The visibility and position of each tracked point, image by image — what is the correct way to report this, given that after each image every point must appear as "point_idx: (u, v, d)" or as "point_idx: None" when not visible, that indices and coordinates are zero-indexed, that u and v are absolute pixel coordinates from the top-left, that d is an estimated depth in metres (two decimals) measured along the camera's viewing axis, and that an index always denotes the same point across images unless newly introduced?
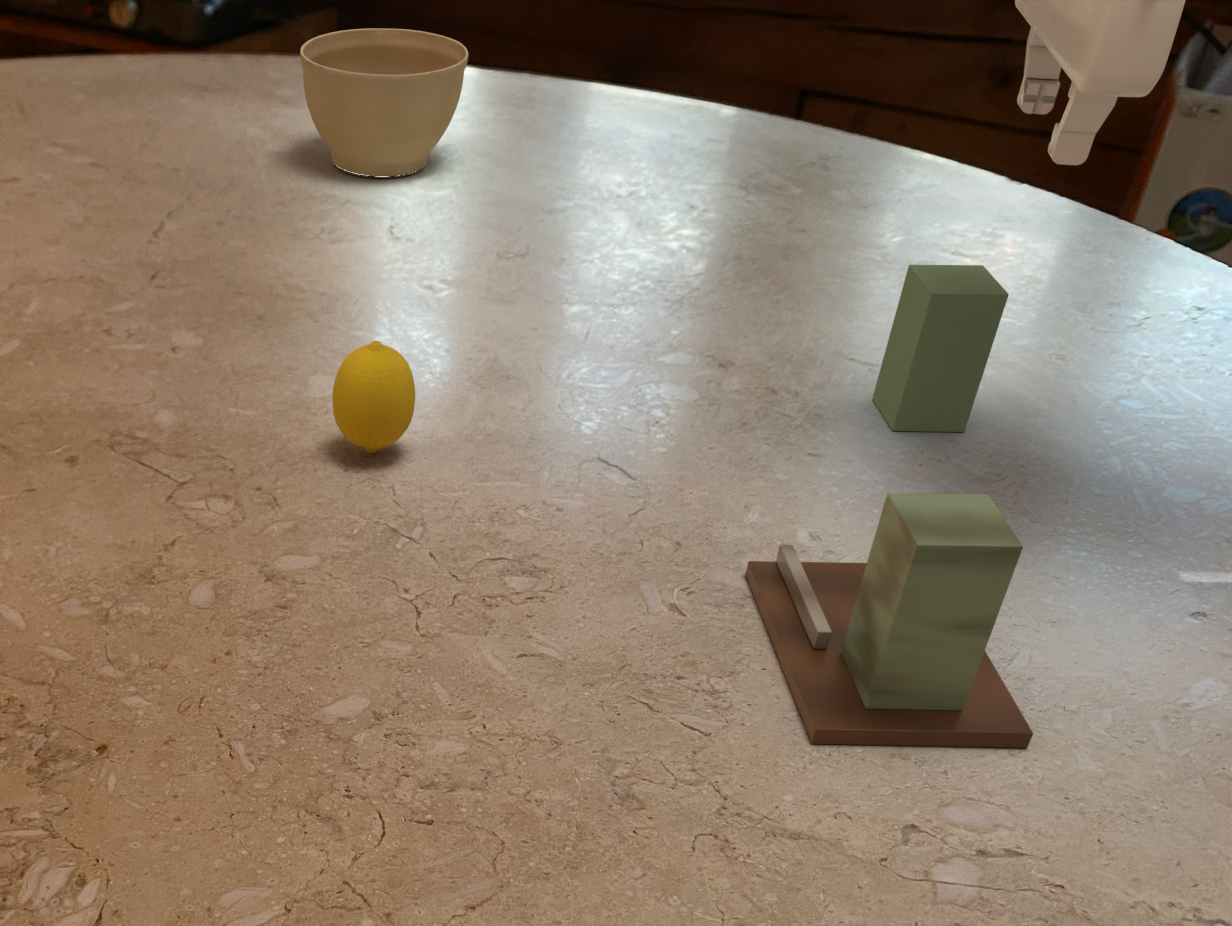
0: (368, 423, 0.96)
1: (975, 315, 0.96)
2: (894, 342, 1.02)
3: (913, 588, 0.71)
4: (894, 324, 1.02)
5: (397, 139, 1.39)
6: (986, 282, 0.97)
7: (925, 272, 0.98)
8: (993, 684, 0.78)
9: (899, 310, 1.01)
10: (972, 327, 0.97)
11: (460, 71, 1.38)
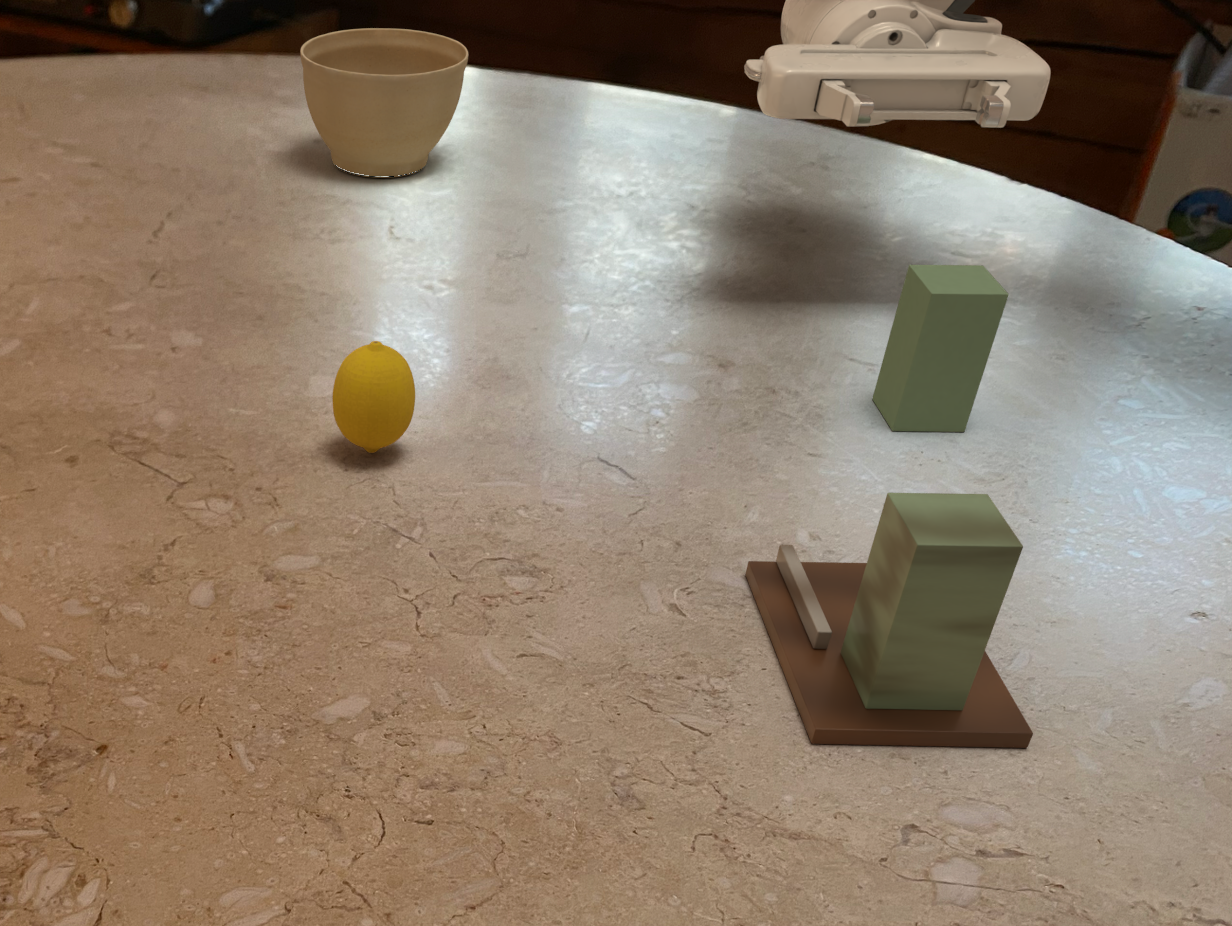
0: (368, 423, 0.96)
1: (975, 315, 0.96)
2: (894, 342, 1.02)
3: (913, 588, 0.71)
4: (894, 324, 1.02)
5: (397, 139, 1.39)
6: (986, 282, 0.97)
7: (925, 272, 0.98)
8: (993, 684, 0.78)
9: (899, 310, 1.01)
10: (972, 327, 0.97)
11: (460, 71, 1.38)
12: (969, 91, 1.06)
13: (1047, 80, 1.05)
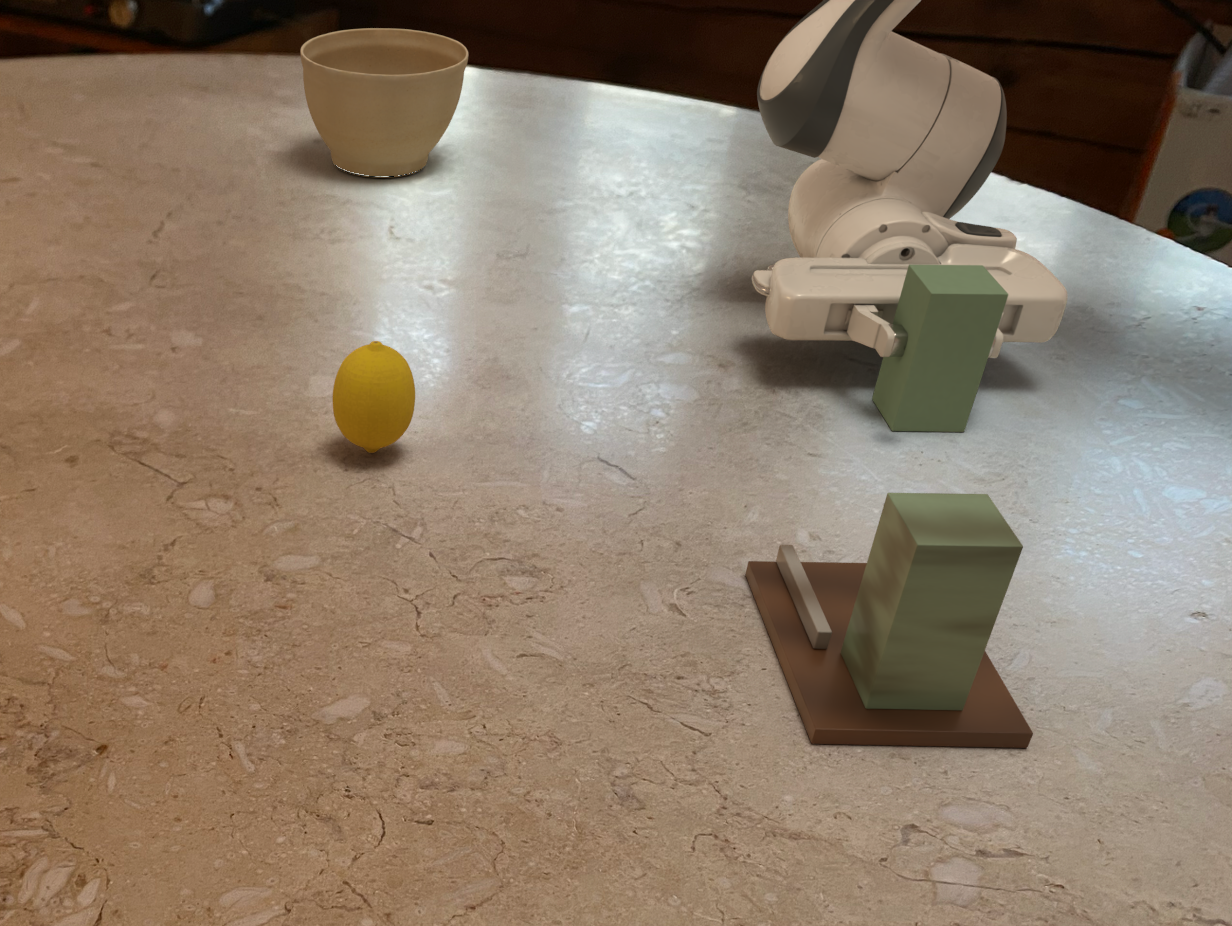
0: (368, 423, 0.96)
1: (974, 315, 0.96)
2: None
3: (913, 588, 0.71)
4: None
5: (397, 139, 1.39)
6: (986, 282, 0.97)
7: (925, 272, 0.98)
8: (993, 684, 0.78)
9: (899, 310, 1.01)
10: (971, 327, 0.97)
11: (460, 71, 1.38)
12: None
13: (1064, 304, 1.03)
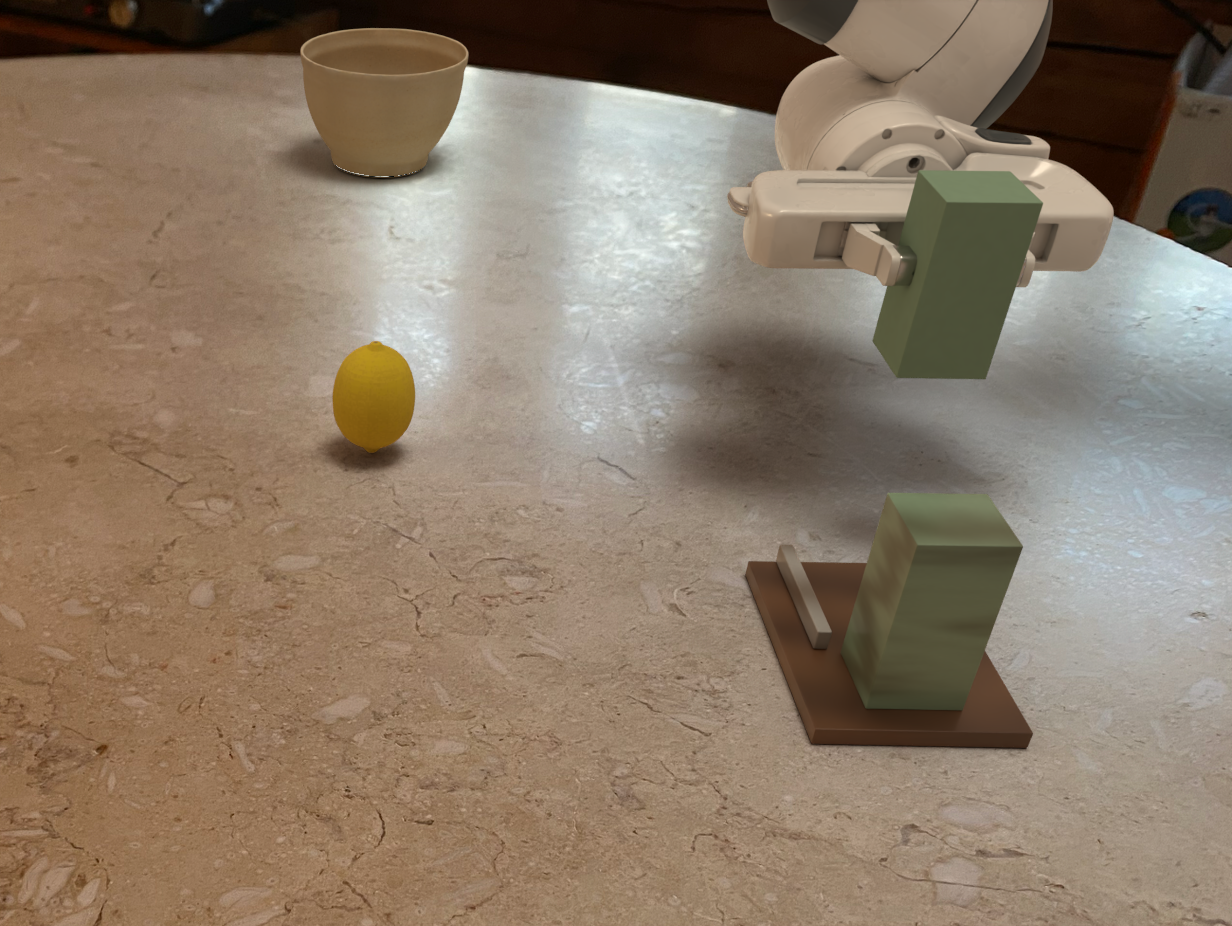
0: (368, 423, 0.96)
1: (1000, 230, 0.77)
2: None
3: (913, 588, 0.71)
4: None
5: (397, 139, 1.39)
6: (1015, 189, 0.78)
7: (939, 178, 0.79)
8: (993, 684, 0.78)
9: (906, 229, 0.82)
10: (997, 246, 0.78)
11: (460, 71, 1.38)
12: None
13: (1109, 223, 0.83)
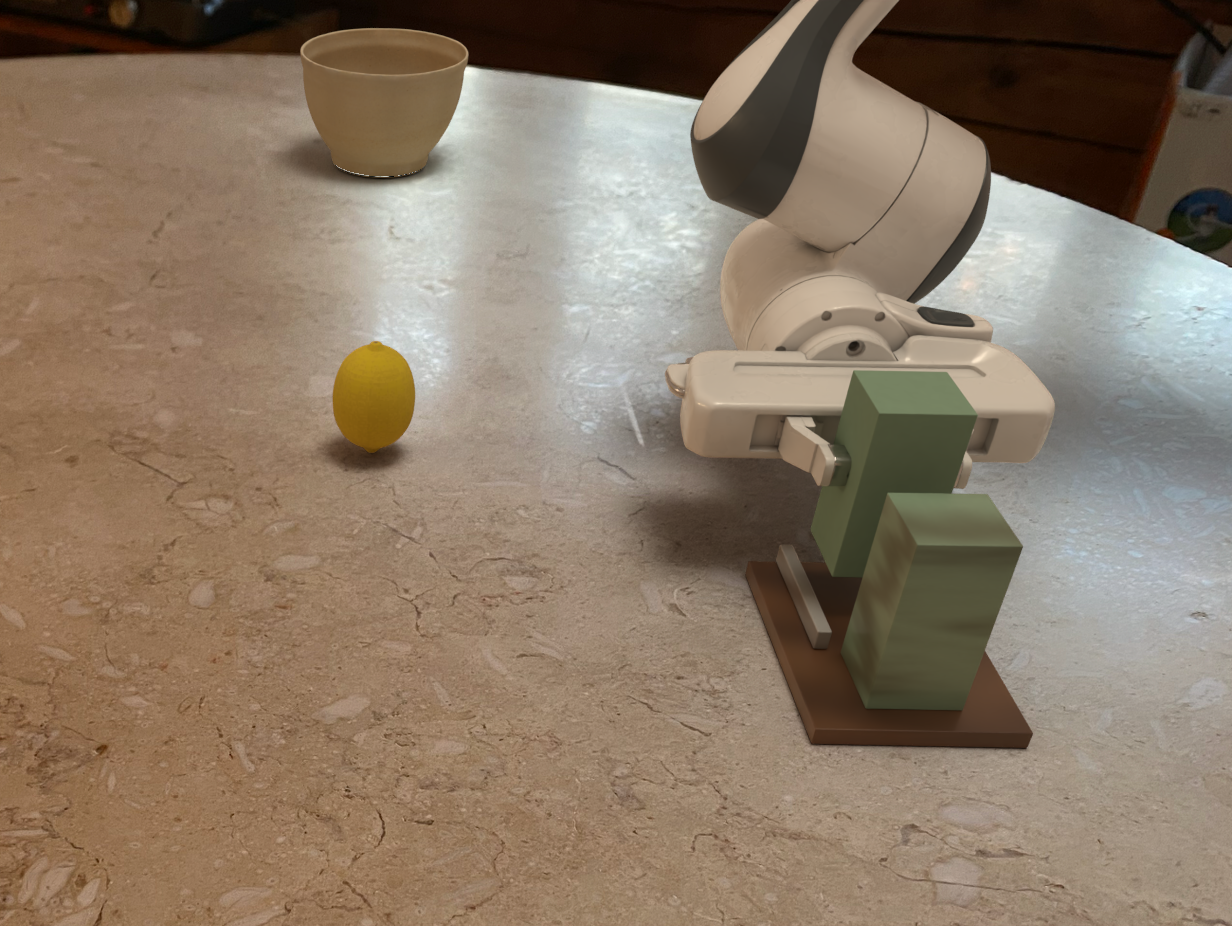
0: (368, 423, 0.96)
1: (935, 439, 0.75)
2: None
3: (913, 588, 0.71)
4: (836, 442, 0.81)
5: (397, 139, 1.39)
6: (950, 396, 0.76)
7: (873, 381, 0.77)
8: (993, 684, 0.78)
9: (842, 426, 0.80)
10: (931, 455, 0.76)
11: (460, 71, 1.38)
12: None
13: (1050, 418, 0.81)
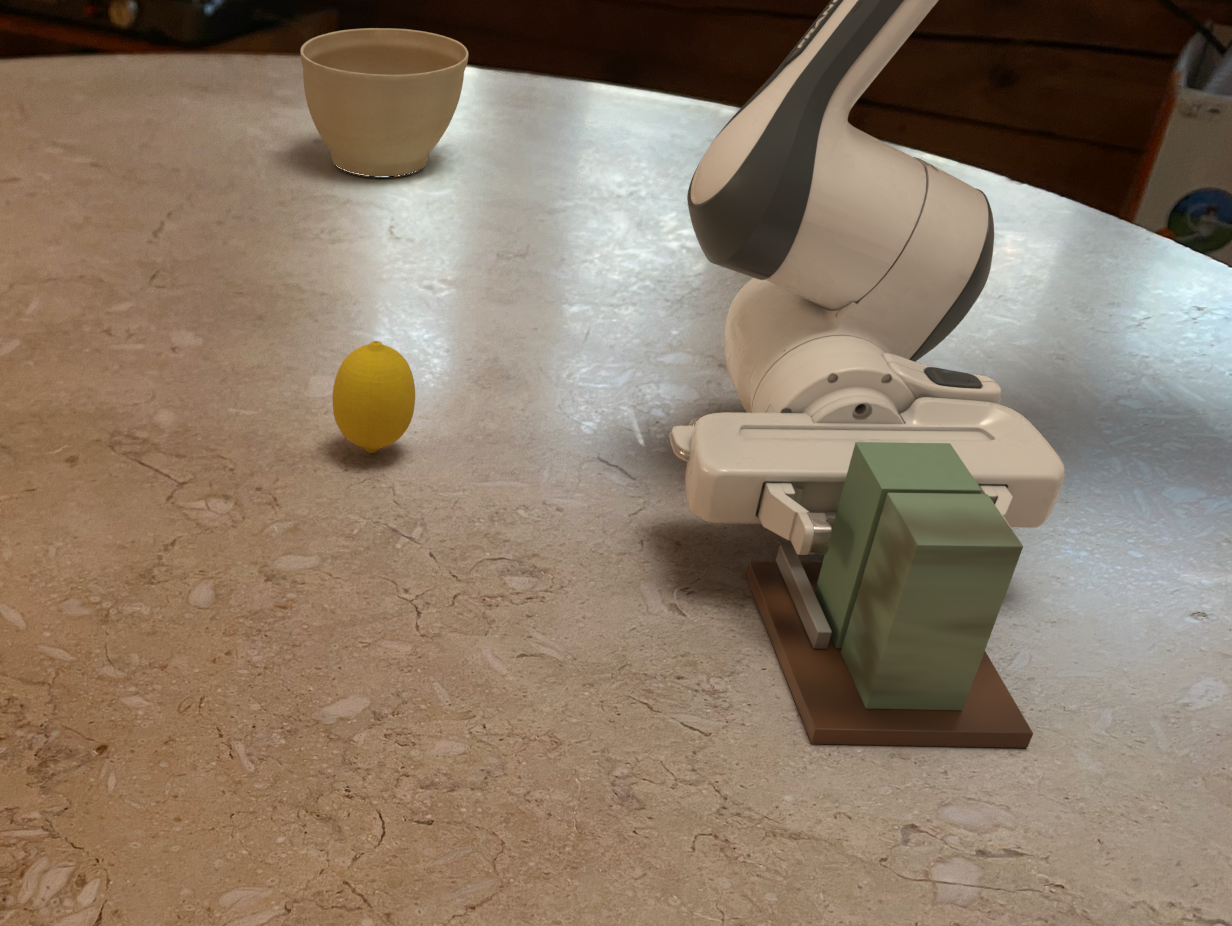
0: (368, 423, 0.96)
1: None
2: (838, 536, 0.80)
3: (913, 588, 0.71)
4: (838, 512, 0.80)
5: (397, 139, 1.39)
6: (953, 470, 0.75)
7: (876, 454, 0.77)
8: (993, 684, 0.78)
9: (844, 497, 0.79)
10: None
11: (460, 71, 1.38)
12: None
13: (1060, 483, 0.81)
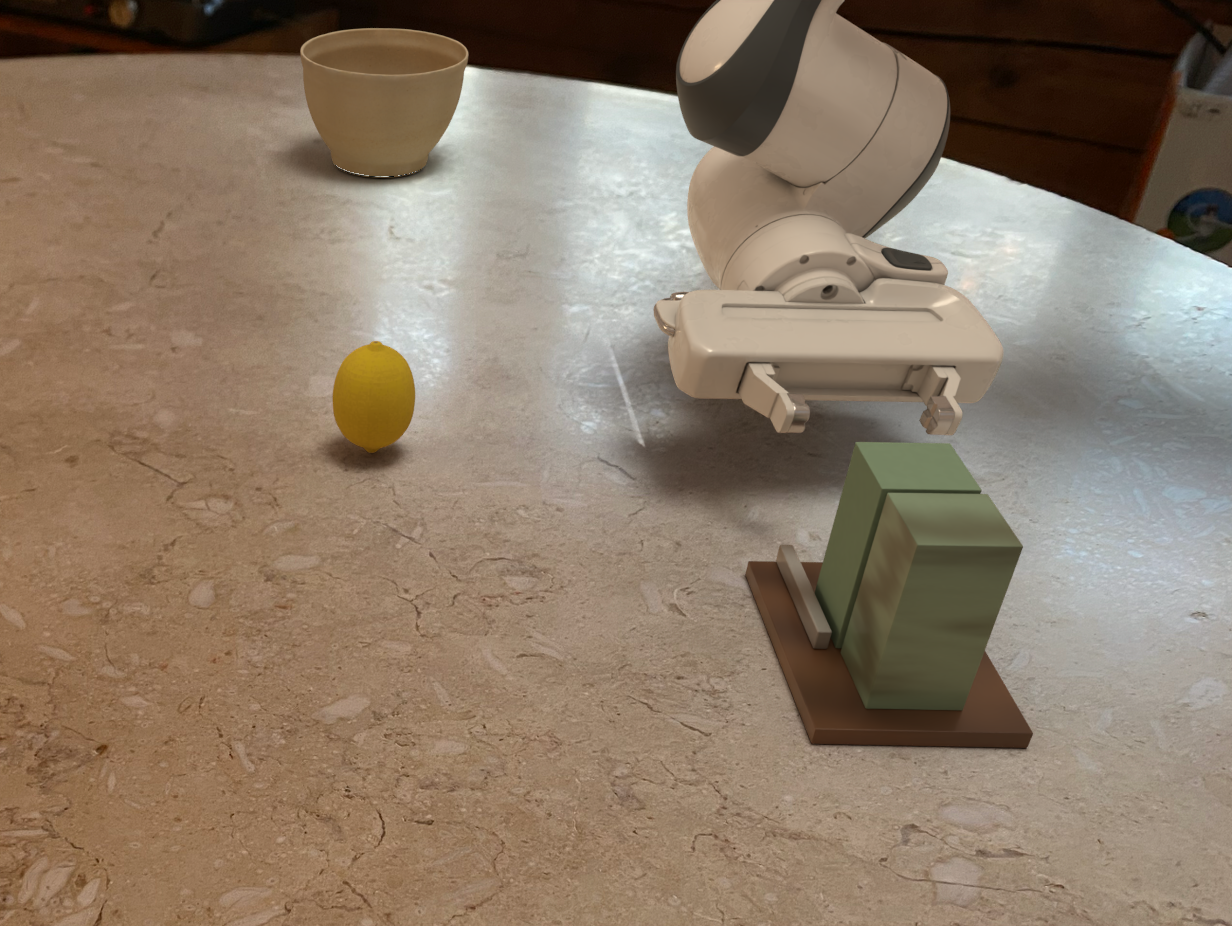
0: (368, 423, 0.96)
1: None
2: (838, 536, 0.80)
3: (913, 588, 0.71)
4: (838, 512, 0.80)
5: (397, 139, 1.39)
6: (953, 470, 0.75)
7: (876, 454, 0.77)
8: (993, 684, 0.78)
9: (844, 497, 0.79)
10: None
11: (460, 71, 1.38)
12: (912, 374, 0.90)
13: (999, 364, 0.90)
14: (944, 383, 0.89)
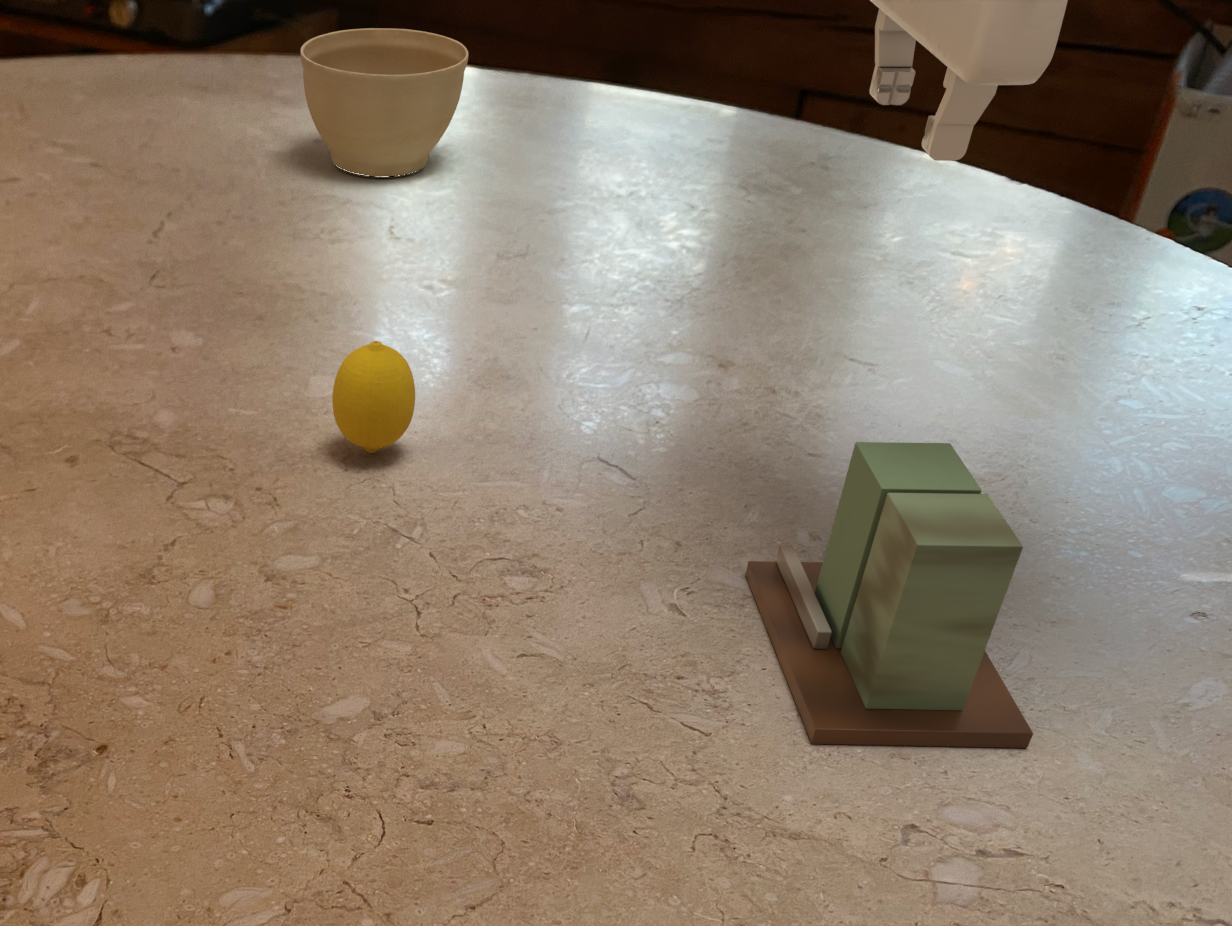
0: (368, 423, 0.96)
1: None
2: (838, 536, 0.80)
3: (913, 588, 0.71)
4: (838, 512, 0.80)
5: (397, 139, 1.39)
6: (953, 470, 0.75)
7: (876, 454, 0.77)
8: (993, 684, 0.78)
9: (844, 497, 0.79)
10: None
11: (460, 71, 1.38)
12: None
13: None
14: None
